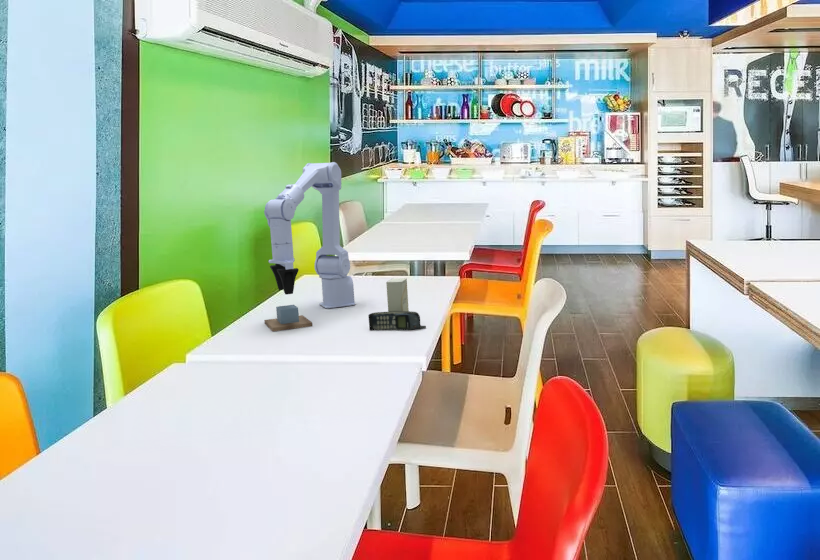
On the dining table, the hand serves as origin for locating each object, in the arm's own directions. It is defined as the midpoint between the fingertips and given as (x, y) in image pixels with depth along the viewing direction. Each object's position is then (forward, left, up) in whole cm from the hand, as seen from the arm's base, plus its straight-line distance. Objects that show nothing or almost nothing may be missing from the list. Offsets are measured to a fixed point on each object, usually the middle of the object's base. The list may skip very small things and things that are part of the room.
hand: (285, 291), depth 205 cm
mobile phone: (-24, +22, -10) cm, 34 cm away
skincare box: (-27, +16, -10) cm, 33 cm away
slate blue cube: (0, 0, -8) cm, 8 cm away
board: (0, 0, -9) cm, 9 cm away
